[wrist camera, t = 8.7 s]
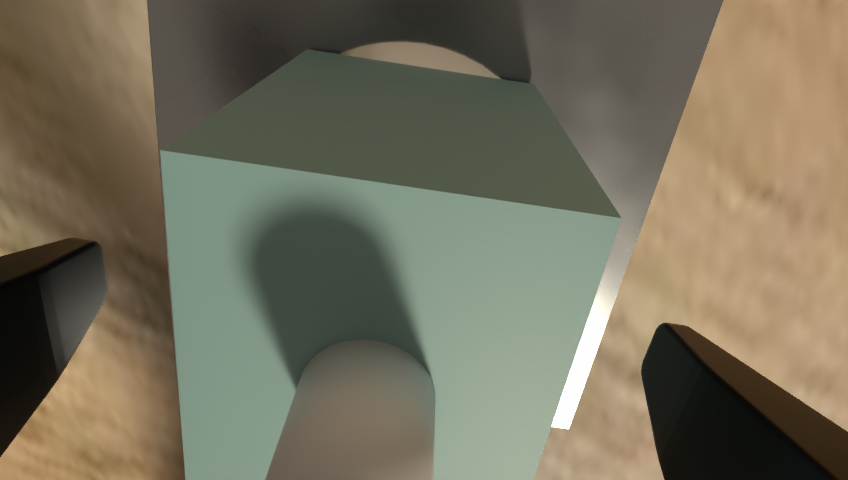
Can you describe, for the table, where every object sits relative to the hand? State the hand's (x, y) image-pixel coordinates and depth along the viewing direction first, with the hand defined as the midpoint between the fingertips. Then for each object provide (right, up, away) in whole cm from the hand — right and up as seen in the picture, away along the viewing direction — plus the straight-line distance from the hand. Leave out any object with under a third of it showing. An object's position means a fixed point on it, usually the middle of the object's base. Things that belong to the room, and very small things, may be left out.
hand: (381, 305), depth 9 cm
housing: (0, +2, +5) cm, 5 cm away
